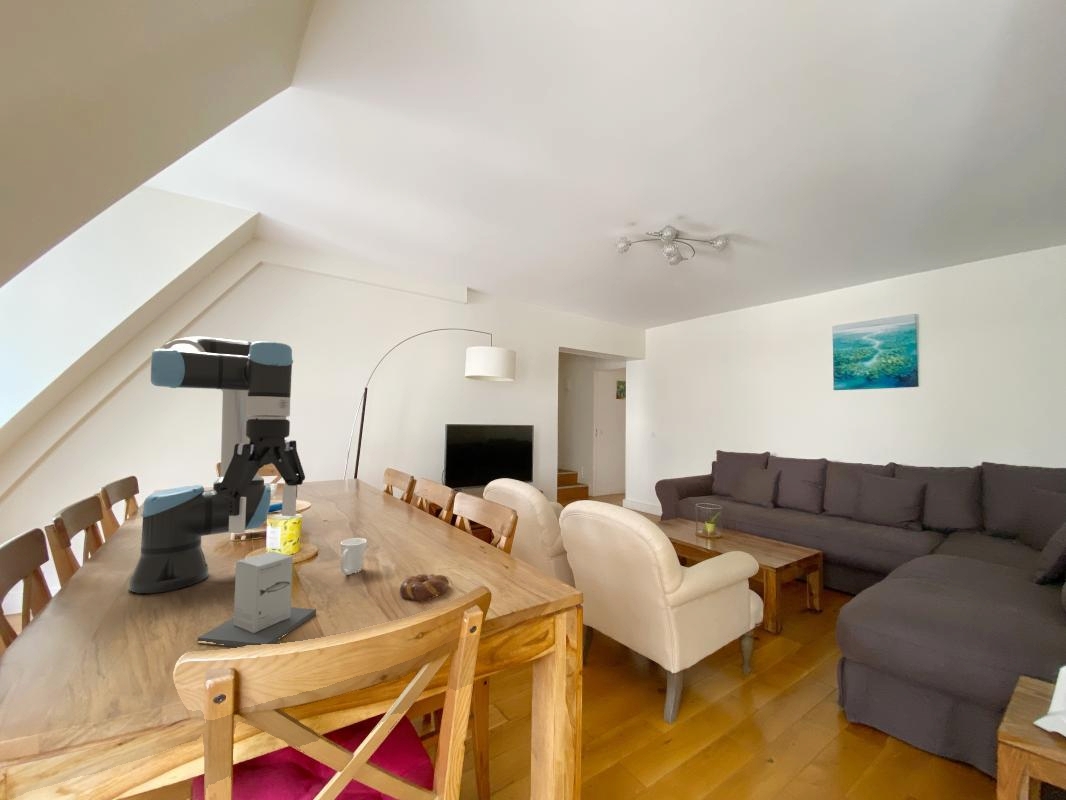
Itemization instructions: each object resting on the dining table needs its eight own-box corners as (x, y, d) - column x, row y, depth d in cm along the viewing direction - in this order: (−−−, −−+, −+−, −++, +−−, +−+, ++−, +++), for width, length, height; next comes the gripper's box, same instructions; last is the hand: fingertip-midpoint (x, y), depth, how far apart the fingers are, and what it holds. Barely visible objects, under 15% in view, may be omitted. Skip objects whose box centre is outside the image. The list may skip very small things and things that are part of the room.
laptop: (197, 643, 78) (197, 637, 78) (256, 609, 92) (257, 604, 92) (265, 649, 76) (265, 643, 76) (315, 613, 90) (315, 609, 90)
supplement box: (254, 634, 79) (256, 566, 80) (232, 625, 83) (234, 560, 83) (292, 618, 86) (294, 555, 86) (270, 610, 89) (272, 550, 90)
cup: (370, 566, 118) (371, 537, 119) (354, 580, 108) (355, 548, 109) (346, 566, 119) (347, 537, 119) (328, 580, 109) (329, 548, 109)
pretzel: (440, 580, 110) (440, 566, 110) (456, 595, 101) (456, 580, 101) (393, 589, 104) (394, 574, 104) (406, 606, 94) (406, 589, 95)
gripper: (233, 418, 73) (228, 542, 72) (324, 418, 98) (321, 510, 97) (195, 418, 74) (190, 540, 73) (294, 417, 99) (291, 509, 98)
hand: (264, 523), depth 85 cm, fingers open, 13 cm apart
